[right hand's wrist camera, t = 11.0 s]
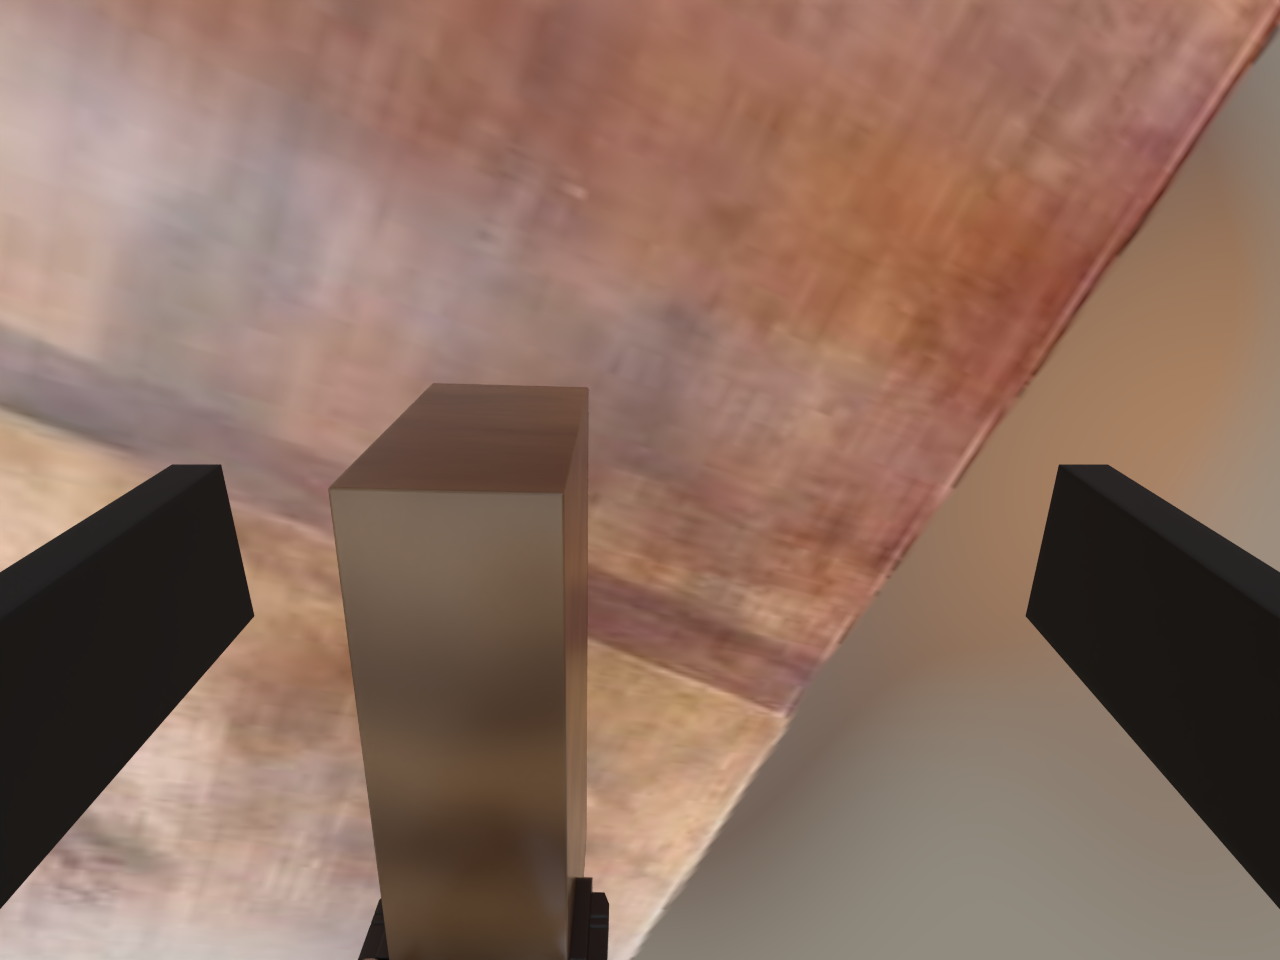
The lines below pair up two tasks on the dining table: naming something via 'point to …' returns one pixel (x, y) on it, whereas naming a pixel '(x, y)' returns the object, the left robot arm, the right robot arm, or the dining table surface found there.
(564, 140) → the dining table surface
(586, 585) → the box
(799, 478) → the dining table surface
